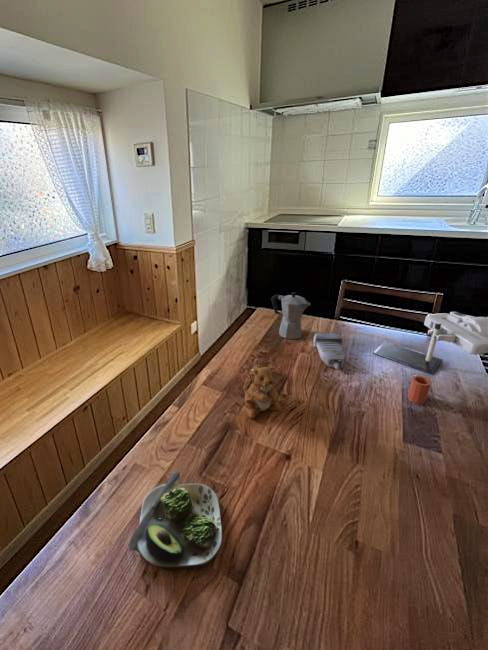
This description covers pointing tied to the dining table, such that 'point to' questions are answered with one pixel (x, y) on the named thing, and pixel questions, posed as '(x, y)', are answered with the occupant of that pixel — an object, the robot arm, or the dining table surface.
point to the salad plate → (178, 526)
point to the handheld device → (330, 349)
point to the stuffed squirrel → (260, 391)
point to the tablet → (407, 357)
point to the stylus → (433, 342)
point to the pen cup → (419, 389)
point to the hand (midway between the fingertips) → (432, 335)
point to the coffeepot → (290, 314)
